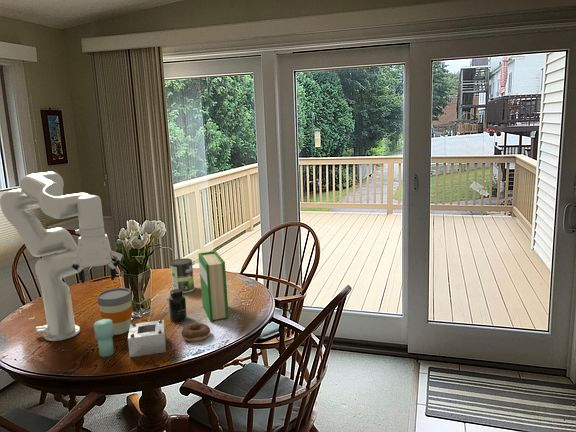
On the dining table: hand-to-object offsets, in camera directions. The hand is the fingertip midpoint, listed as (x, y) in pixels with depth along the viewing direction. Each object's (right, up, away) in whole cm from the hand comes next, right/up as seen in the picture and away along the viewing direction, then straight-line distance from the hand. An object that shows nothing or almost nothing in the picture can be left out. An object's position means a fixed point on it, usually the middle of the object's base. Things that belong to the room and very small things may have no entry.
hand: (98, 280), depth 165 cm
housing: (+15, -25, +7) cm, 30 cm away
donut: (+31, -23, +14) cm, 41 cm away
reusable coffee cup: (-1, -22, +23) cm, 32 cm away
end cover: (+2, -27, +4) cm, 27 cm away
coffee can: (+15, -13, +64) cm, 67 cm away
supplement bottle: (+21, -20, +31) cm, 42 cm away
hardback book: (+35, -18, +35) cm, 53 cm away
